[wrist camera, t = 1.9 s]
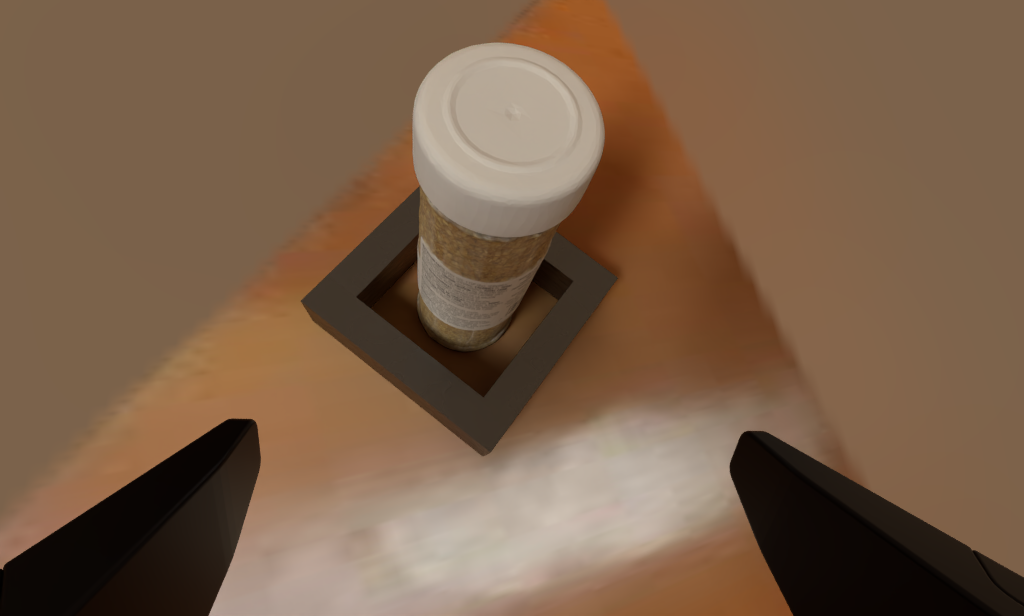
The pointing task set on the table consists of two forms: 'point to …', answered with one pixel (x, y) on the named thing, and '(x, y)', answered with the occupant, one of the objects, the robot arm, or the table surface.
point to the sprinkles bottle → (495, 181)
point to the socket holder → (412, 370)
